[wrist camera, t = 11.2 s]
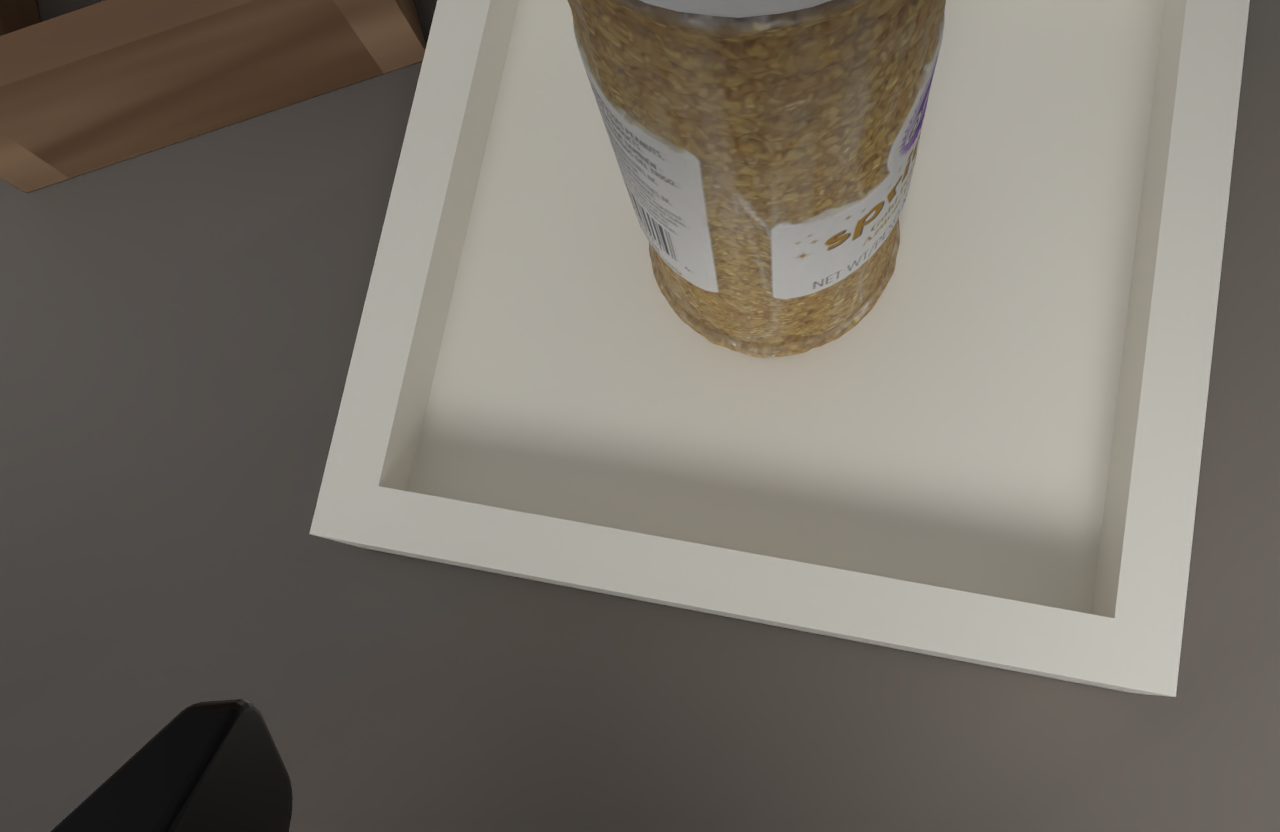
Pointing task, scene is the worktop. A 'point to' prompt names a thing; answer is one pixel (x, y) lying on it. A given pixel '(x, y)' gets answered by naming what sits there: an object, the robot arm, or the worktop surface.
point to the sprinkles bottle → (765, 152)
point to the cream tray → (819, 354)
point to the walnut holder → (175, 72)
